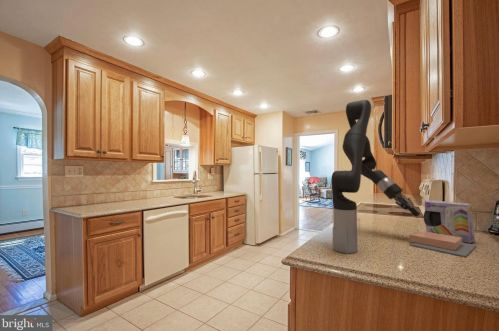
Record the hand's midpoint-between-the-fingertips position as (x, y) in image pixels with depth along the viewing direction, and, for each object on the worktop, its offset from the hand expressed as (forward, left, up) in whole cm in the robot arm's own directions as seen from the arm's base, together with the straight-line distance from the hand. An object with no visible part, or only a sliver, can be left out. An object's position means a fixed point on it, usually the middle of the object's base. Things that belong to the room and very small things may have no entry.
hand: (418, 215), depth 109 cm
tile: (0, +2, -10) cm, 10 cm away
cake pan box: (+18, -7, -12) cm, 23 cm away
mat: (0, -9, -12) cm, 15 cm away
